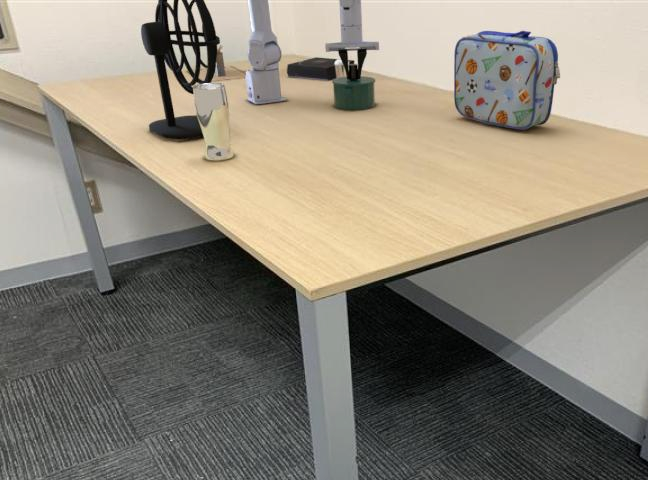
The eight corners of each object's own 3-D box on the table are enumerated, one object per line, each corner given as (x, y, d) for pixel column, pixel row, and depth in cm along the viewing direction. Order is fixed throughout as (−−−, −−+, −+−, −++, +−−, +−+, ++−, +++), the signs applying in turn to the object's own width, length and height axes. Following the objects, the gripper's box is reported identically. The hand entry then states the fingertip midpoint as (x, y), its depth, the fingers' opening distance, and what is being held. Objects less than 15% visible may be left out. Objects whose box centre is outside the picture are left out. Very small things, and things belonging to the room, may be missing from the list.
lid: (327, 87, 182) (326, 68, 180) (338, 79, 192) (337, 60, 190) (370, 88, 180) (369, 68, 177) (379, 80, 190) (378, 61, 188)
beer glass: (221, 150, 152) (211, 81, 144) (241, 155, 148) (232, 84, 140) (196, 157, 147) (184, 86, 140) (216, 163, 143) (205, 90, 136)
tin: (327, 111, 183) (326, 87, 180) (342, 99, 197) (341, 76, 194) (367, 112, 181) (366, 88, 178) (380, 99, 195) (379, 76, 192)
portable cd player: (315, 69, 242) (314, 57, 240) (354, 72, 234) (354, 60, 232) (287, 76, 230) (286, 64, 228) (327, 80, 222) (326, 67, 220)
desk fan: (246, 135, 163) (226, -28, 145) (177, 148, 155) (146, -24, 136) (202, 115, 182) (179, -31, 164) (138, 126, 173) (106, -28, 155)
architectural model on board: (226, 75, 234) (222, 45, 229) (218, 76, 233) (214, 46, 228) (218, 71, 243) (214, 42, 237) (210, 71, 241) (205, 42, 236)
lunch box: (560, 128, 163) (572, 29, 151) (536, 137, 157) (545, 34, 145) (472, 111, 180) (476, 22, 168) (447, 118, 174) (449, 26, 162)
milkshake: (352, 92, 205) (350, 57, 200) (335, 92, 206) (333, 57, 201) (353, 89, 209) (352, 54, 204) (337, 89, 210) (335, 55, 205)
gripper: (324, 27, 175) (327, 82, 182) (379, 26, 175) (380, 80, 182) (324, 24, 181) (327, 77, 188) (377, 23, 181) (378, 75, 188)
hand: (353, 78), depth 185 cm, fingers closed on lid, 2 cm apart
